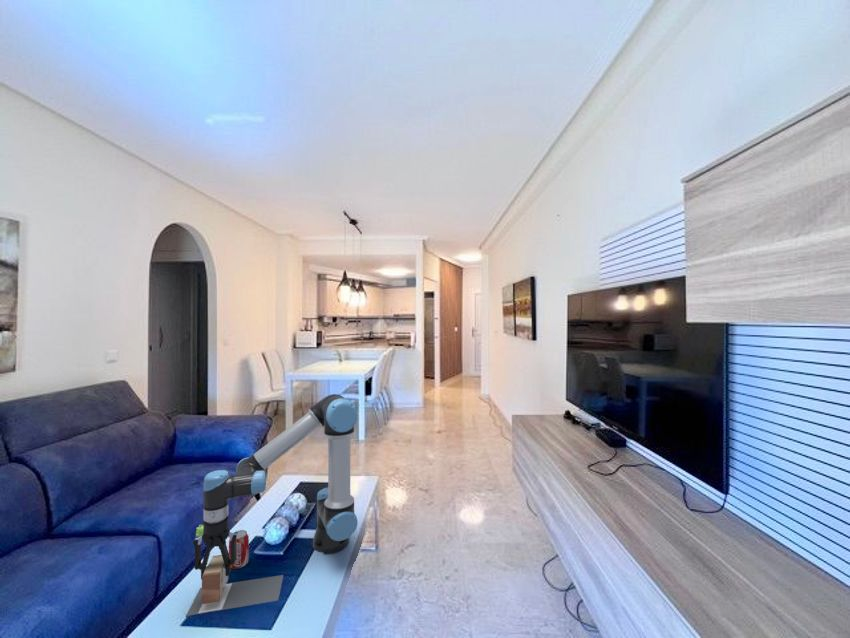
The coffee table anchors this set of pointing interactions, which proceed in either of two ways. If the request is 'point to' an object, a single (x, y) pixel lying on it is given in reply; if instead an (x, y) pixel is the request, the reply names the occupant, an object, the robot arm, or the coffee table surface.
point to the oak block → (213, 580)
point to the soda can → (240, 549)
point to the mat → (240, 595)
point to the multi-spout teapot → (199, 531)
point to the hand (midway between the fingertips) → (215, 585)
